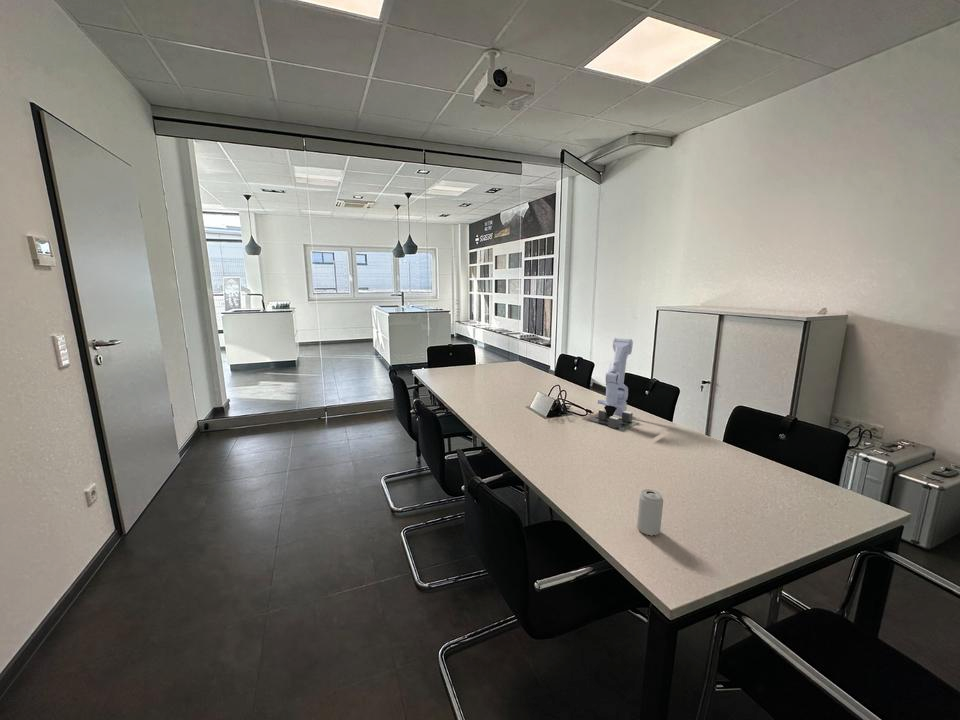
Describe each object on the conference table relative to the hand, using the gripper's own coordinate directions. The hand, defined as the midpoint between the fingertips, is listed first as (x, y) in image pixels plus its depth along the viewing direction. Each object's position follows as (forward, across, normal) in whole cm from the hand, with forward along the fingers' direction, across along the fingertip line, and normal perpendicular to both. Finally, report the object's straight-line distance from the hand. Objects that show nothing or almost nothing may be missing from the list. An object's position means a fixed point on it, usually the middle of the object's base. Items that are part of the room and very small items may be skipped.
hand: (609, 419), depth 211 cm
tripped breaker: (+1, -4, 0) cm, 4 cm away
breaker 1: (+1, +6, -7) cm, 9 cm away
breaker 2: (+1, +6, +7) cm, 9 cm away
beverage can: (+3, +57, -79) cm, 97 cm away
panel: (+3, 0, 0) cm, 3 cm away
